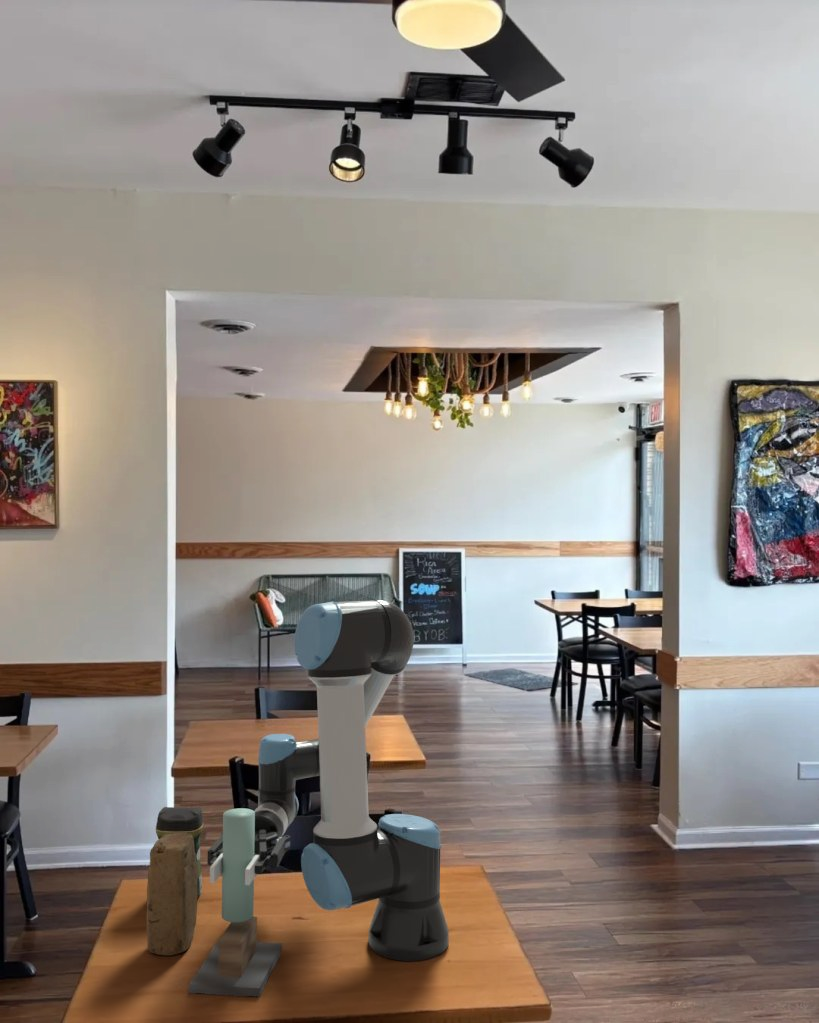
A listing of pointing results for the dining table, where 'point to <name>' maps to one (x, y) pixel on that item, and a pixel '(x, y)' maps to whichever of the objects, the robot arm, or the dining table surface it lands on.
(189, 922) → the block
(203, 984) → the ridge stand
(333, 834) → the robot arm
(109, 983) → the dining table surface
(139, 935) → the dining table surface
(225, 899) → the cylinder
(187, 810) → the coffee jar
